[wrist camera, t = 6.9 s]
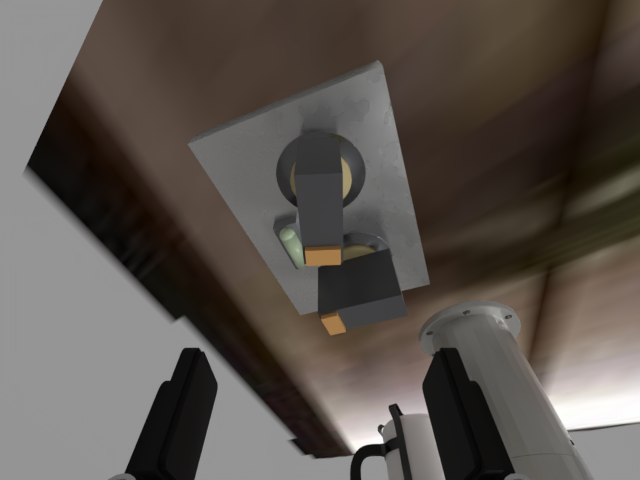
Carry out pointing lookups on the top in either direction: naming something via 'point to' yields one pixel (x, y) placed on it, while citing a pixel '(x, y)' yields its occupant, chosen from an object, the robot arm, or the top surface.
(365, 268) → the knob
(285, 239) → the bubble vial
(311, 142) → the knob
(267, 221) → the levelling plate
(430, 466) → the coffee press
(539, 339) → the top surface
